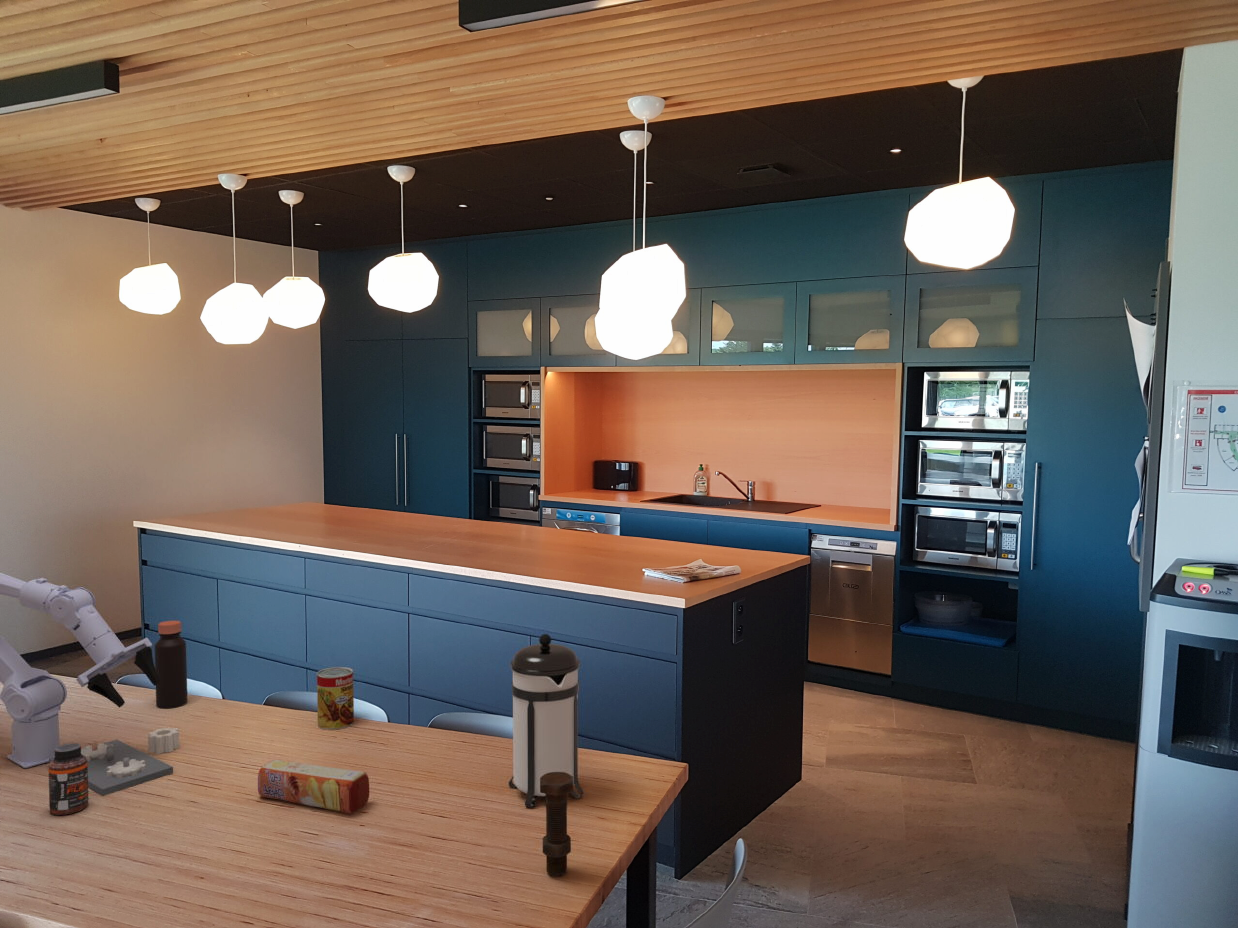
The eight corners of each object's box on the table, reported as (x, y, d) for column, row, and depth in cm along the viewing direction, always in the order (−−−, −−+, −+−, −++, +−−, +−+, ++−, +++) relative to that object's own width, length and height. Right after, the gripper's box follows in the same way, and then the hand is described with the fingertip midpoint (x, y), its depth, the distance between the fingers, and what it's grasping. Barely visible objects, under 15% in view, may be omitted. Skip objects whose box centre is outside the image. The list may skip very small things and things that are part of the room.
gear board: (49, 764, 178) (48, 740, 177) (117, 744, 188) (116, 722, 188) (102, 795, 163) (101, 770, 163) (173, 772, 174) (172, 748, 173)
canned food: (347, 729, 197) (346, 677, 197) (312, 729, 197) (311, 676, 197) (358, 717, 205) (357, 666, 204) (324, 717, 205) (323, 666, 204)
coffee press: (601, 781, 170) (601, 628, 168) (561, 816, 155) (561, 648, 154) (523, 766, 177) (523, 618, 175) (478, 797, 163) (477, 637, 161)
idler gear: (143, 749, 186) (142, 733, 185) (171, 741, 190) (170, 725, 190) (156, 756, 182) (156, 739, 182) (184, 747, 187) (184, 731, 186)
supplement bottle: (70, 817, 154) (67, 754, 154) (41, 814, 156) (38, 751, 155) (96, 803, 160) (94, 742, 160) (68, 800, 161) (66, 739, 161)
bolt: (540, 863, 139) (540, 770, 138) (572, 862, 139) (572, 769, 139) (540, 883, 133) (539, 786, 132) (573, 881, 134) (573, 785, 133)
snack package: (254, 800, 162) (253, 764, 162) (279, 786, 168) (279, 751, 168) (349, 819, 154) (349, 781, 154) (373, 803, 161) (372, 767, 160)
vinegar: (149, 707, 211) (147, 625, 210) (168, 698, 218) (166, 619, 217) (175, 709, 210) (173, 626, 209) (193, 700, 217) (191, 620, 216)
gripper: (67, 652, 169) (110, 708, 169) (138, 614, 181) (178, 666, 180) (60, 665, 174) (101, 720, 173) (129, 628, 185) (168, 679, 184)
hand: (140, 693), depth 177 cm, fingers open, 7 cm apart
